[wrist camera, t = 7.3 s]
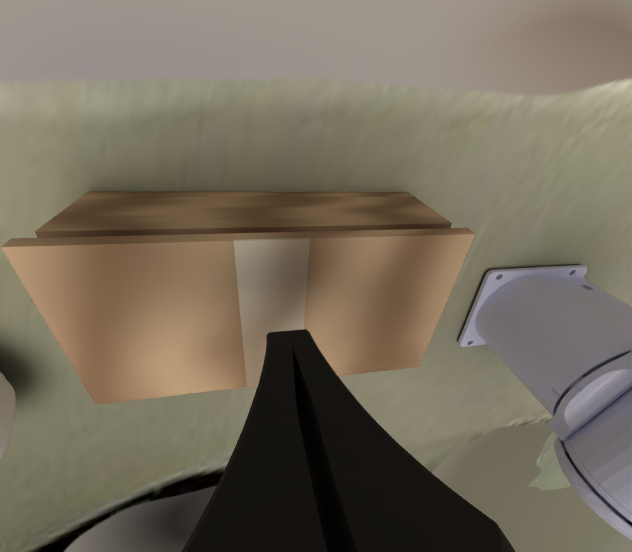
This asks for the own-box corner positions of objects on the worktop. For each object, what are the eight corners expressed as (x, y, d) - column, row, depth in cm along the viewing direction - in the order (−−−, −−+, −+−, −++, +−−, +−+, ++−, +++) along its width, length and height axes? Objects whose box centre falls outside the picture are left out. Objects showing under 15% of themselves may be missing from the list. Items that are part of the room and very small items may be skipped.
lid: (468, 227, 15) (477, 234, 14) (414, 359, 20) (419, 368, 20) (10, 237, 11) (-3, 247, 10) (99, 394, 17) (95, 407, 16)
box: (407, 192, 20) (451, 223, 16) (382, 305, 24) (411, 352, 20) (88, 191, 16) (34, 231, 12) (131, 324, 21) (104, 385, 17)
